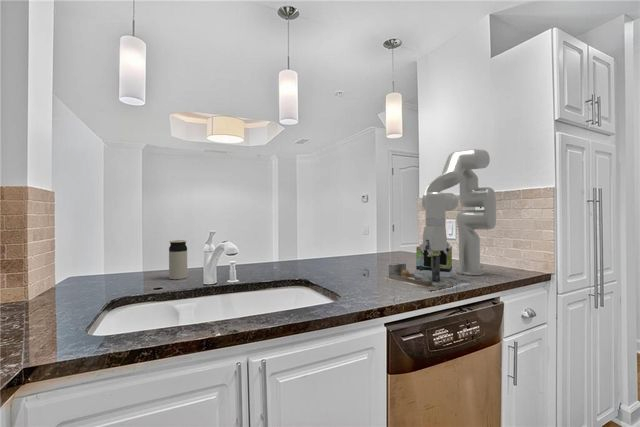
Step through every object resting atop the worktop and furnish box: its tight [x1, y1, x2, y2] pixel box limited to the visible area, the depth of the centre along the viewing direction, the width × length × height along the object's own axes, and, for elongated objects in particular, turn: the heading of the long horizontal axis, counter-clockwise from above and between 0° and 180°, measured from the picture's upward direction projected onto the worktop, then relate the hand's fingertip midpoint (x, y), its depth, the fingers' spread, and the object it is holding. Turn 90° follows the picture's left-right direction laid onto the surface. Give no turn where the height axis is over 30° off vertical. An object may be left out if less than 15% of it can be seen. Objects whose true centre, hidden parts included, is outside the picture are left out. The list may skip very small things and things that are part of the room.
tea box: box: [415, 244, 453, 278], centre depth 152 cm, size 15×10×15 cm
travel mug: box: [168, 239, 188, 280], centre depth 153 cm, size 8×8×18 cm
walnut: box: [401, 269, 410, 278], centre depth 142 cm, size 4×4×4 cm
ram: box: [414, 255, 449, 288], centre depth 131 cm, size 7×12×12 cm, turn 34°
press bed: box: [383, 262, 454, 293], centre depth 137 cm, size 14×26×7 cm, turn 34°
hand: (435, 265), depth 128 cm, fingers open, 9 cm apart
